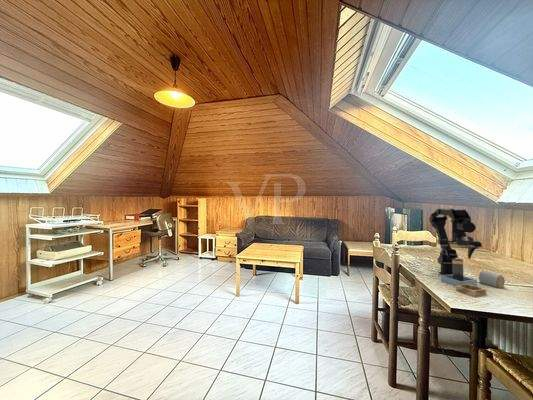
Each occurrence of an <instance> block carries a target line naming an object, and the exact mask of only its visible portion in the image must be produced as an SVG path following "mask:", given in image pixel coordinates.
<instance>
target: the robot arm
mask: <svg viewBox="0 0 533 400" xmlns="http://www.w3.org/2000/svg"><path fill="white" fill-rule="evenodd" d="M448 217H449V218H450V219H451V220H450V222H451V240H449V238H448V234H447V232H446V228H445V227H446V223H447V220H448ZM428 218H429V223H430V225H431V227H433V228H434V229H435V231H436V232H435V233H436V235H437V238H438V239H437V240H436V241H437V242H436V243H437V244H438V245H440V248H441V250H440V253H439V255H438V258H437V264H439V265H440V271H439V272H438V273H439V274H441V275H451V274H453V263H452V259H453V258H459V256H458V253H457V250H456V249H453V248H452V247H451V245H458V246H465V247H467V259H468V260H470V259H471V257H472V255H473V254H474V251H476V250H477V249H479V248H483V245H482V242H481V241H479V240H474V237H473V236H467V233H468V234H469V233H470V234H471V233H474V232H475V231H476V228H477V227H476V224H474V222H472V219H471V215H470V214H469V212H468V211H467V210H466V208H442V207H441V208H440V207H439V208H437V209H436V210H435V211H434V212H433V213H431V215H430V216H429V217H428Z"/></svg>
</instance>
